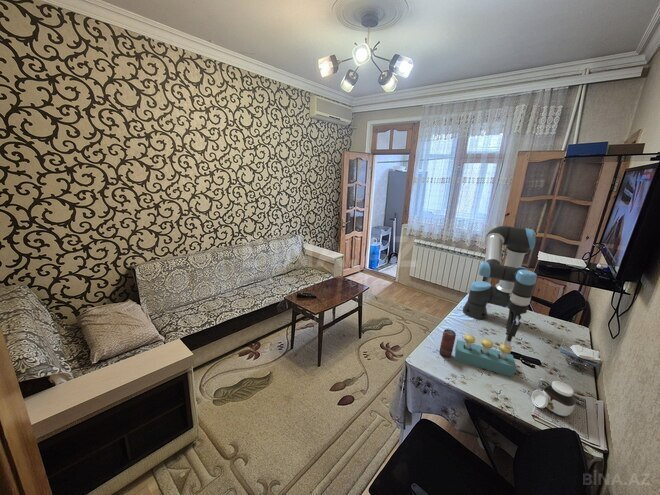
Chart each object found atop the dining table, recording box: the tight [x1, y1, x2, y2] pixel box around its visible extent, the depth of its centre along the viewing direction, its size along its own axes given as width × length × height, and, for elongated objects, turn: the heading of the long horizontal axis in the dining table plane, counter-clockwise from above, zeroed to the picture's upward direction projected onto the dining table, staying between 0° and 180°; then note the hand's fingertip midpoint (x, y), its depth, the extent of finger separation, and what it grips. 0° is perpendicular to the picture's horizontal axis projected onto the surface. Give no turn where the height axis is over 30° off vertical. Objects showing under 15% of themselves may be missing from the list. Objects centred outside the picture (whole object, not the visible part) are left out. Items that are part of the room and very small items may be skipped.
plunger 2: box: [499, 343, 512, 361], centre depth 133 cm, size 5×5×8 cm
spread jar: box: [530, 380, 576, 417], centre depth 112 cm, size 12×11×12 cm
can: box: [438, 328, 457, 359], centre depth 141 cm, size 6×6×14 cm
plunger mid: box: [481, 338, 494, 355], centre depth 136 cm, size 5×5×8 cm
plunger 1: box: [464, 333, 476, 350], centre depth 139 cm, size 5×5×8 cm
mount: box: [454, 339, 517, 378], centre depth 138 cm, size 10×26×6 cm, turn 65°
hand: (506, 345), depth 132 cm, fingers closed
